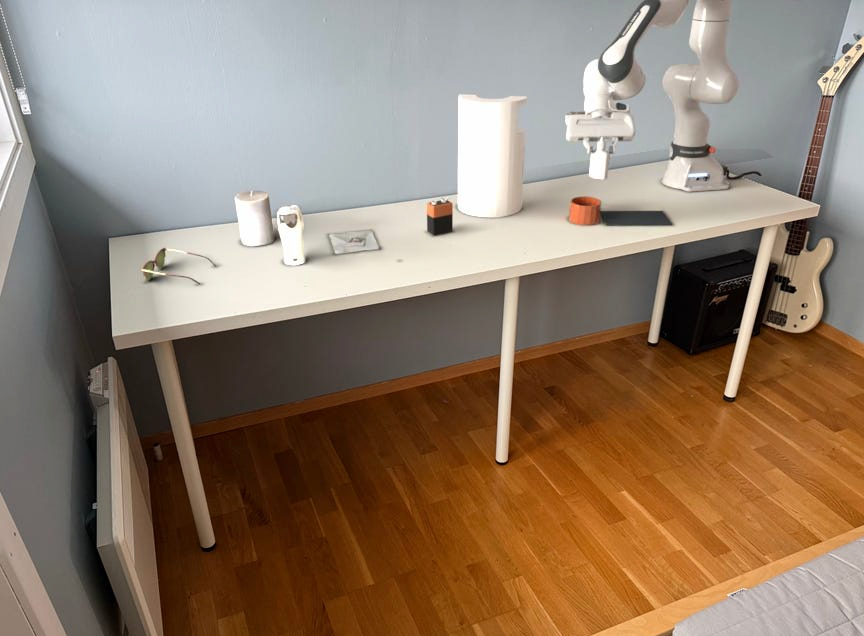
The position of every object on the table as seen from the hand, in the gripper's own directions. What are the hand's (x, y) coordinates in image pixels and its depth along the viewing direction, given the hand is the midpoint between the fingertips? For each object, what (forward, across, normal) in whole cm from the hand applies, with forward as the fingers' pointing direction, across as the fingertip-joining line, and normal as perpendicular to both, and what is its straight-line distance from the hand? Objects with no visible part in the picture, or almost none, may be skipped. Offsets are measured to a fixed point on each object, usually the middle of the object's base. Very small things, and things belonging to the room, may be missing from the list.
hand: (601, 153), depth 214 cm
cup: (+15, -3, +15) cm, 21 cm away
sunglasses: (+43, -117, -15) cm, 126 cm away
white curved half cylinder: (+9, -33, +20) cm, 40 cm away
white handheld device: (+37, -88, -8) cm, 96 cm away
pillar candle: (+26, -102, +2) cm, 105 cm away
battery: (+22, -48, +8) cm, 53 cm away
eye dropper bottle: (+5, 0, +6) cm, 8 cm away
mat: (+14, +13, +16) cm, 25 cm away
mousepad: (+30, -70, -1) cm, 76 cm away
